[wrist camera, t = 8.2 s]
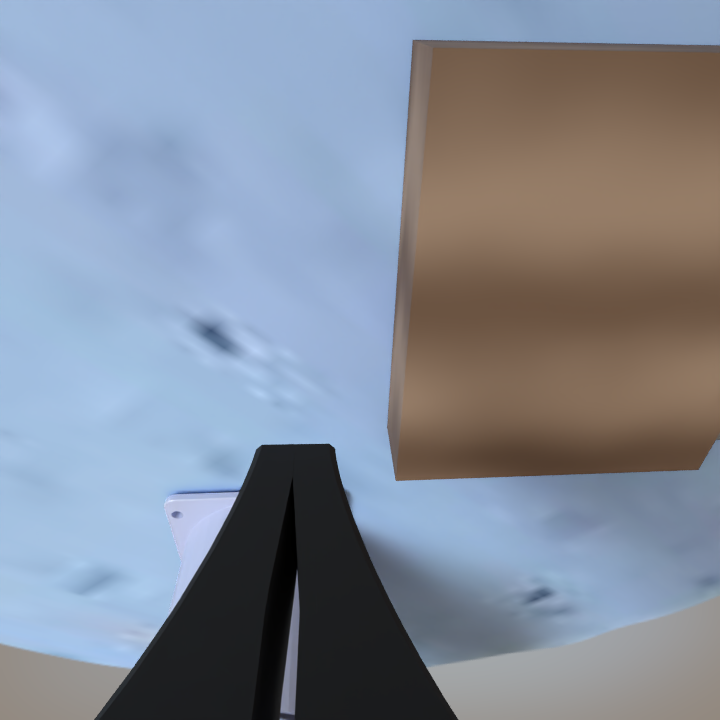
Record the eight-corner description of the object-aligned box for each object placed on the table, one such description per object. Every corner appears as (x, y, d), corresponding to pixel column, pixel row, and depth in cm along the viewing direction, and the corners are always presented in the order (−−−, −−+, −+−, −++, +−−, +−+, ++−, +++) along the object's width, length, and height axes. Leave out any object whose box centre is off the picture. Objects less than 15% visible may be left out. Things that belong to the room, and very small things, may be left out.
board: (657, 418, 22) (698, 469, 20) (387, 426, 22) (395, 480, 19) (832, 47, 14) (937, 56, 12) (412, 39, 14) (433, 47, 11)
